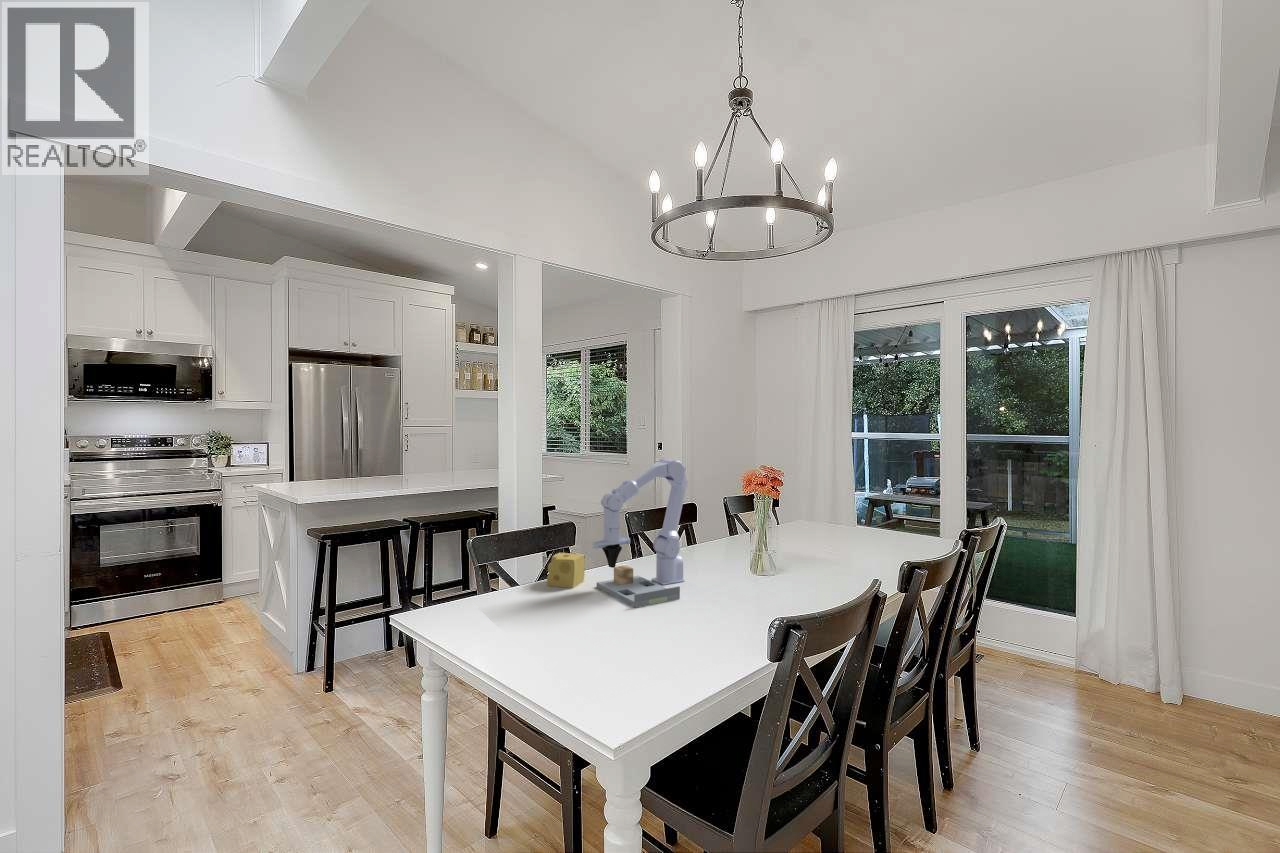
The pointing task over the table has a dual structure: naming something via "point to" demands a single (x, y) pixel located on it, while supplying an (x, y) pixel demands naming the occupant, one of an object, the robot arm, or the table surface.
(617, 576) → the oak block
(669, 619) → the table surface
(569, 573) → the cheese
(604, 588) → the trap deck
